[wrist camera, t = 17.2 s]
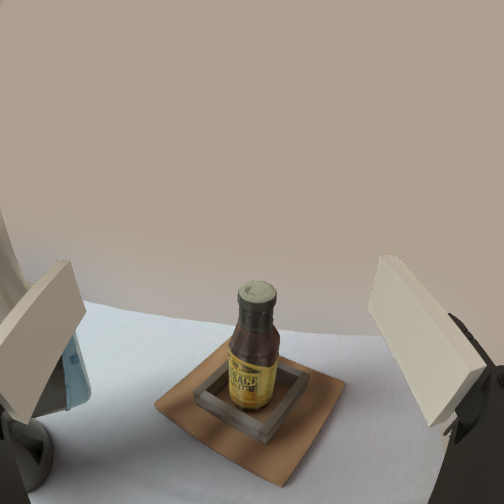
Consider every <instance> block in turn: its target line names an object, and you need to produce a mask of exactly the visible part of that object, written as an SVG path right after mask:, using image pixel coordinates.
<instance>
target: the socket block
mask: <svg viewBox="0 0 504 504" xmlns="http://www.w3.org/2000/svg"><path fill="white" fill-rule="evenodd" d="M231 338H232V336H231V337H230V338H229V339H228V340H227V341H225V342H224V343H223V344H222V345H221V346H220V347H219V348H218V349H217V350H215V351H214V352H213V353H212V354H211V355H210V356H209V357H208V358H206V359H205V360H204V361H203V362H202V363H201V364H200V365H198V366H197V367H196V368H195V369H194V370H193V371H192V372H190V373H189V374H188V375H187V376H186V377H185V378H183V379H182V380H181V381H180V382H179V383H178V384H176V385H175V386H174V387H173V388H172V389H170V390H169V391H168V392H167V393H166V394H165V395H163V396H162V397H161V398H160V399H159V400H157V401H156V402H155V403H154V405H155V407H156V409H157V410H158V411H160V412H161V413H162V414H164V415H165V416H166V417H167V418H169V419H170V420H171V421H173V422H174V423H175V424H177V425H178V426H179V427H181V428H182V429H184V430H185V431H186V432H188V433H189V434H191V435H192V436H194V437H195V438H196V439H198V440H199V441H201V442H202V443H204V444H205V445H207V446H208V447H210V448H212V449H213V450H215V451H216V452H218V453H219V454H221V455H223V456H224V457H226V458H228V459H229V460H231V461H233V462H234V463H236V464H238V465H239V466H241V467H243V468H245V469H247V470H248V471H250V472H252V473H254V474H256V475H258V476H259V477H261V478H263V479H265V480H267V481H269V482H271V483H273V484H275V485H277V486H279V487H281V488H282V487H283V486H284V484H285V483H286V481H287V480H288V479H289V477H290V476H291V474H292V473H293V472H294V470H295V469H296V467H297V466H298V464H299V463H300V461H301V460H302V458H303V457H304V455H305V454H306V452H307V451H308V449H309V447H310V446H311V444H312V443H313V441H314V439H315V438H316V436H317V435H318V433H319V431H320V430H321V428H322V426H323V425H324V423H325V421H326V419H327V418H328V416H329V414H330V412H331V411H332V409H333V407H334V405H335V403H336V402H337V400H338V398H339V396H340V394H341V392H342V390H343V388H344V386H345V383H346V382H343V381H341V380H338V379H335V378H333V377H330V376H328V375H325V374H323V373H320V372H318V371H315V370H313V369H310V368H308V367H305V366H303V365H300V364H298V363H296V362H293V361H291V360H288V359H286V358H284V357H281V356H279V357H278V363H277V370H276V377H275V383H274V389H273V394H272V398H271V400H270V402H269V404H268V405H267V406H266V407H265V408H264V409H261V410H258V411H255V412H248V411H244V410H241V409H239V408H237V407H236V406H235V405H234V404H233V401H232V399H231V396H230V392H229V364H228V363H229V360H228V359H229V358H228V344H229V342H230V340H231Z"/></svg>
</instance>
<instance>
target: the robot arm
mask: <svg viewBox="0 0 504 504" xmlns="http://www.w3.org/2000/svg"><path fill="white" fill-rule="evenodd" d="M3 1H4V0H0V4H1V3H2V2H3ZM367 309H368V311H369V313H370V315H371V316H372V318H373V320H374V321H375V323H376V325H377V327H378V329H379V330H380V332H381V334H382V336H383V338H384V339H385V341H386V343H387V345H388V347H389V349H390V350H391V352H392V354H393V356H394V358H395V360H396V362H397V364H398V366H399V367H400V369H401V371H402V373H403V375H404V377H405V379H406V381H407V383H408V385H409V387H410V389H411V391H412V393H413V395H414V397H415V399H416V401H417V403H418V405H419V407H420V410H421V412H422V414H423V416H424V418H425V420H426V422H427V425H428V427H431V426H434V425H436V424H439V423H442V422H444V421H446V420H447V419H448V418H449V416H450V415H451V414H452V413H453V412H454V410H455V412H456V414H457V416H458V417H457V418H456V419H455V420H454V421H453V422H452V424H451V425H450V426H449V427H448V428H447V429H446V430H445V432H444V434H443V435H444V436H446V435H447V434H448V433H449V432H450V431H451V429H452V431H451V435H450V436H449V437H450V440H449V443H448V447H447V451H446V454H445V457H444V460H443V463H442V466H441V469H440V472H439V475H438V478H437V481H436V484H435V486H434V489H433V492H432V494H431V497H430V499H429V502H428V504H504V366H503V365H500V366H495V365H494V363H493V362H492V360H491V359H490V358H489V356H488V355H487V354H486V352H485V351H484V350H483V348H482V347H481V346H480V345H479V343H478V342H477V340H476V339H474V337H473V336H472V334H471V333H470V332H468V329H467V328H466V327H465V325H464V324H463V323H462V322H461V321H460V320H459V319H457V318H456V317H455V316H453V315H452V314H451V313H448V314H447V313H446V312H445V310H444V309H443V308H442V307H441V306H440V304H439V303H438V302H437V301H436V300H435V299H434V297H433V296H432V295H431V294H430V293H429V292H428V290H427V289H426V288H425V287H424V286H423V285H422V284H421V282H420V281H419V280H418V279H417V278H416V277H415V276H414V275H413V274H412V273H411V272H410V270H409V269H408V268H407V267H406V266H405V265H404V264H403V263H402V262H401V261H400V260H399V259H398V258H397V257H396V255H380V258H379V263H378V267H377V271H376V276H375V280H374V284H373V288H372V292H371V296H370V300H369V304H368V307H367ZM85 313H86V309H85V306H84V304H83V301H82V298H81V295H80V292H79V289H78V285H77V282H76V279H75V276H74V272H73V269H72V265H71V262H70V260H57V261H56V262H55V263H54V264H53V265H52V266H51V267H50V268H49V269H48V270H47V271H46V272H45V273H44V274H43V275H42V276H41V278H40V279H39V280H38V281H37V282H36V283H32V282H29V281H25V279H24V276H23V274H22V272H21V269H20V267H19V264H18V262H17V259H16V256H15V254H14V251H13V248H12V245H11V242H10V240H9V237H8V233H7V230H6V227H5V224H4V221H3V217H2V214H1V211H0V504H31V502H30V500H29V497H28V495H27V492H28V491H31V490H33V489H35V488H37V487H38V486H39V485H40V484H41V483H42V482H43V481H44V480H45V479H46V477H47V475H48V473H49V471H50V468H51V465H52V458H53V450H52V444H51V441H50V438H49V436H48V434H47V432H46V430H45V429H44V428H43V427H42V426H41V424H40V423H39V422H38V421H37V420H36V419H35V418H36V417H40V416H44V415H48V414H51V413H55V412H59V411H63V410H65V411H69V410H70V409H71V408H73V407H76V406H78V405H81V404H84V403H86V402H87V401H88V400H89V399H90V397H91V386H90V382H89V379H88V375H87V372H86V368H85V365H84V361H83V358H82V354H81V350H80V347H79V343H78V339H77V336H76V332H75V330H76V328H77V326H78V325H79V323H80V321H81V320H82V318H83V316H84V315H85Z"/></svg>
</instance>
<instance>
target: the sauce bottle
mask: <svg viewBox="0 0 504 504" xmlns="http://www.w3.org/2000/svg"><path fill="white" fill-rule="evenodd" d="M276 294H277V293H276V289H275V288H274V287H273V286H272V285H270V284H268V283H266V282H263V281H250V282H247V283H245V284H243V285H242V286H240V288H239V290H238V303H239V320H238V323H237V325H236V328H235V330H234V333H233V335H232V338H231V340H230V342H229V344H228V358H229V359H228V360H229V363H228V364H229V392H230V396H231V399H232V401H233V404H234V405H235V406H236V407H237V408H239V409H241V410H244V411H248V412H255V411H258V410H261V409H264V408H265V407H266V406H267V405H268V404H269V402H270V400H271V398H272V394H273V389H274V383H275V377H276V370H277V363H278V357H279V352H278V351H279V345H280V335H279V333H278V331H277V329H276V328H275V327H274V325H273V308H274V306H275V304H276V297H277V295H276Z"/></svg>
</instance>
